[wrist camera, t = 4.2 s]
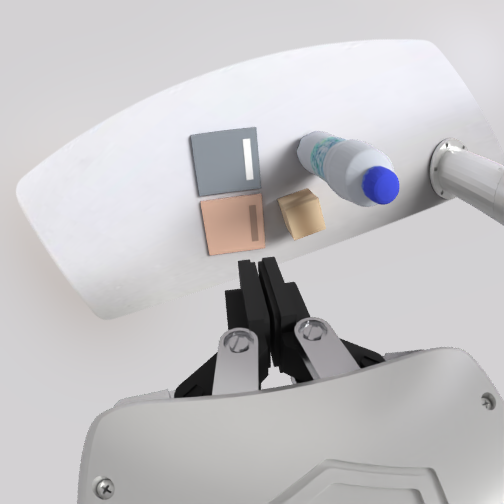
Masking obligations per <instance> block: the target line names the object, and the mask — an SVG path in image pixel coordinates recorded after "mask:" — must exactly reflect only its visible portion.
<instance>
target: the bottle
mask: <svg viewBox="0 0 504 504" xmlns="http://www.w3.org/2000/svg"><path fill="white" fill-rule="evenodd" d="M297 155H298V158H299V160H300V163H301V164H302V166H303V167H304V168H305V169H306V170H308V171H309V172H311V173H312V174H314V175H317V176H319V177H320V178H321V179H323V180H324V181H326V182H327V183H328V185H329V186H330V188H331V189H332V190H333V191H334V192H335V193H336V194H337V195H338V196H340V197H341V198H343V199H345V200H348V201H351V202H353V203H355V204H357V205H360V206H364V207H369V206H374V205H377V204H388V203H390V202H392V201H393V200H394V199H395V198H396V196H397V194H398V192H399V181H398V178H397V176H396V175H395V174H394V168H393V165H392V163H391V161H390V159H389V158H388V157H387V155H385V154H384V153H383V152H381V151H380V150H378V149H376V148H375V147H373V146H372V145H371V144H369V143H367V142H364V141H359V140H354V139H350V140H346V139H342V138H339V137H336V136H334V135H331V134H329V133H326V132H321V131H315V132H312V133H310V134H308V135H305V136H304V137H303V138H302V139H301V141H300V144H299V147H298V149H297Z"/></svg>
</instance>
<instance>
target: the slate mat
mask: <svg viewBox="0 0 504 504" xmlns="http://www.w3.org/2000/svg"><path fill="white" fill-rule="evenodd" d="M191 141H192V148H193V155H194V163H195V169H196V176H197V183H198V189H199V196H204V195H211V194H218V193H225V192H233V191H241V190H249V189H258V188H261V181H260V168H259V156H258V144H257V132H256V127H253V128H242V129H233V130H224V131H216V132H209V133H202V134H195V135H191Z"/></svg>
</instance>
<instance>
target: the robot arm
mask: <svg viewBox="0 0 504 504" xmlns="http://www.w3.org/2000/svg"><path fill="white" fill-rule="evenodd" d="M430 180H431V184H432V187H433V189H434V191H435V192H436V193H437V194H438V195H439V196H440V197H442V198H444V199H453V198H455V197H458V198H459V199H461V200H463V201H465V202H466V203H468V204H470V205H472V206H473V207H475V208H477V209H478V210H480V211H482V212H483V213H485V214H486V215H488V216H490V217H491V218H493V219H494V220H496V221H497V222H499V223H500V224H502V225H504V165H502V164H500V163H498V162H495V161H493V160H490V159H488V158H485V157H483V156H480V155H478V154H475V153H472V152H470V151H468V149H467V148H466V146H465V145H464V144H463V142H461V141H460V140H457V139H454V138H448V139H445V140H443V141H442V142H441V143H440V144H439V145H438V146H437V148H436V150H435V151H434V154H433V156H432V160H431V164H430ZM238 267H239V278H240V286H241V287H240V288H241V289H235V290H226V291H225V297H226V309H227V320H228V331H227V332H225V333H224V334H223V335H222V336H221V338H220V341H219V347H218V352H217V353H216V354H215V355H214V356H213V357H211V358H210V359H209V360H208V361H207V362H206V363H205V364H203V365H202V366H201V367H200V368H199V369H198V370H197V371H195V372H194V373H193V374H192V375H191V376H190V377H188V378H187V379H186V380H185V381H184V382H182V383H181V384H180V385H179V387H177V389H176V390H174V391H170V392H169V391H168V390H163V391H158V392H154V393H149V394H144V395H139V396H134V397H129V398H124V399H121V400H119V401H118V402H117V403H116V404H115V405H114V407H113V408H111V409H109V410H106V411H105V412H103V413H101V414H100V415H99V416H97V417H96V418H95V420H94V421H93V423H92V424H91V426H90V428H89V430H88V433H87V436H86V440H85V443H84V448H83V452H82V458H81V464H80V471H79V483H78V500H77V504H504V401H503V399H502V397H501V396H500V394H499V393H498V391H497V389H496V387H495V386H494V384H493V383H492V382H491V380H490V378H489V377H488V376H487V374H486V373H485V371H484V370H483V369H482V368H481V366H480V365H479V364H478V363H477V361H476V360H475V359H474V358H473V357H472V356H471V355H470V354H469V353H467V352H466V351H464V350H462V349H459V348H453V347H440V348H431V349H427V350H414V351H405V352H395V353H386V354H385V356H381V355H380V354H378V353H376V352H374V351H371V350H368V349H366V348H363V347H360V346H358V345H355V344H353V343H350V342H348V341H345V340H342V339H340V338H338V336H337V335H336V333H335V332H334V330H333V329H332V328H331V326H330V325H329V324H328V323H327V322H326V321H324V320H323V319H320V318H315V317H310V315H309V313H308V311H307V308H306V306H305V303H304V301H303V299H302V297H301V294H300V292H299V290H298V288H297V285H296V284H295V282H290V283H284V280H283V277H282V275H281V272H280V270H279V267H278V265H277V262H276V260H275V257H267V258H262V261H260V262H258V272H259V276H258V272H257V269H256V265H255V262H250V260H242V261H238ZM270 352H271V356H272V360H273V364H274V367H276V366H279V370H280V373H283V372H284V373H286V374H288V375H290V376H291V381H292V383H293V385H287V386H282V387H276V388H269V389H263V390H261V383H262V381H263V380H264V379H265V378H266V377H267V376H268V368H270V367H271V359H270V358H271V357H270Z"/></svg>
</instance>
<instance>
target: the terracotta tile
mask: <svg viewBox="0 0 504 504" xmlns="http://www.w3.org/2000/svg"><path fill="white" fill-rule="evenodd" d="M201 208H202V214H203V220H204V226H205V232H206V238H207V243H208V249H209V254H210V255H217V254H224V253H232V252H239V251H246V250H253V249H261V248H265V236H264V222H263V208H262V195H261V193H260V194H251V195H243V196H235V197H228V198H220V199H213V200H206V201H201Z"/></svg>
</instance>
